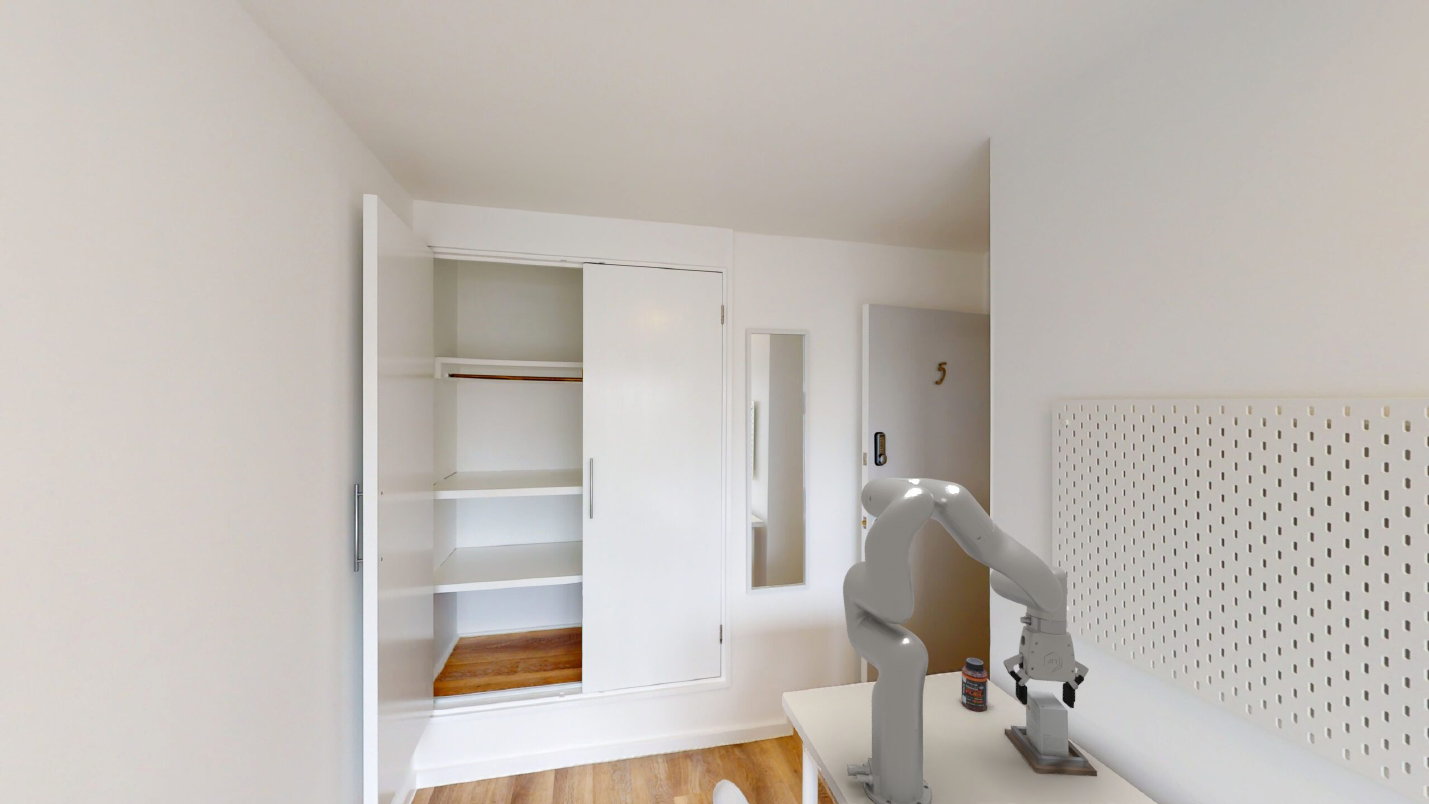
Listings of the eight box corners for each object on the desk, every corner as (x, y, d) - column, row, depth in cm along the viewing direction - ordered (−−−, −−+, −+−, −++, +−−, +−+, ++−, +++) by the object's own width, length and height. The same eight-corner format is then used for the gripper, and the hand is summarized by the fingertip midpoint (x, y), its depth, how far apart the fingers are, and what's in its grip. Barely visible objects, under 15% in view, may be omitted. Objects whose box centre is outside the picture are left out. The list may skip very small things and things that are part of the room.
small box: (1069, 761, 115) (1068, 710, 115) (1040, 758, 116) (1039, 707, 116) (1052, 739, 122) (1052, 691, 123) (1025, 736, 124) (1025, 689, 124)
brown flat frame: (1035, 772, 112) (1035, 761, 113) (1004, 733, 126) (1004, 723, 126) (1096, 775, 112) (1096, 763, 112) (1058, 735, 126) (1058, 725, 126)
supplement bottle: (963, 710, 137) (963, 664, 137) (960, 698, 142) (959, 654, 143) (989, 713, 135) (989, 667, 135) (985, 701, 140) (985, 657, 141)
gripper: (1013, 627, 117) (1012, 709, 116) (1098, 632, 115) (1097, 715, 115) (997, 615, 124) (996, 692, 123) (1077, 620, 123) (1076, 697, 122)
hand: (1045, 703), depth 119 cm, fingers open, 9 cm apart
